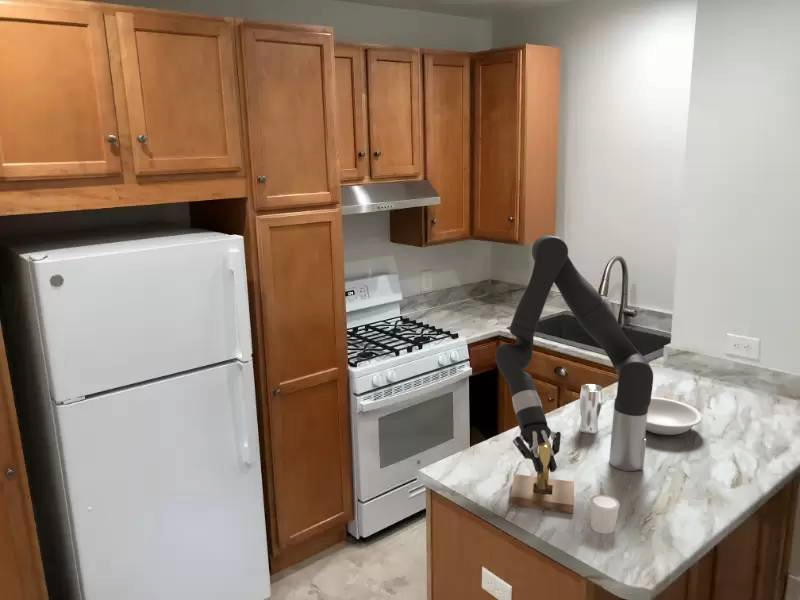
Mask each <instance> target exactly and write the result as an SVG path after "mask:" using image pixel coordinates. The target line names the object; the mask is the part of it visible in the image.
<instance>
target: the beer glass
mask: <svg viewBox="0 0 800 600" xmlns="http://www.w3.org/2000/svg"><path fill="white" fill-rule="evenodd" d="M580 389H581V390H580V396H579V408H580V409H579V410H580V424H579V428H578V430H579V431H580V432H581V433H583V434H586V435H595V433H596V434H597V433H598V432H599V424H598V423H599V422H598V421H599V417H600V413H601V409H602V406H603V387H602V386H600V385H598V384H593V383H586V384H582V385H581V388H580Z"/></svg>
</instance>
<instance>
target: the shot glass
mask: <svg viewBox="0 0 800 600" xmlns="http://www.w3.org/2000/svg"><path fill="white" fill-rule="evenodd" d="M589 500H590V501H589V503H590V504H589V507H590V509H589V510H590V512H589V513H590V527H591V528H592V530H594V531H596V532H597V533H600V534H603V535H604V534H605V535H608V534H612V533H614V531H615V529H616V524H617V519H618V514H619V509H620V502H619V500H617V498H615V497H613V496H610V495H606V494H594V495H592V496H591V497H590V499H589Z"/></svg>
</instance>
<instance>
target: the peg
mask: <svg viewBox="0 0 800 600" xmlns="http://www.w3.org/2000/svg"><path fill="white" fill-rule="evenodd" d="M550 444H551V443H550ZM550 444H548V443H540V444H539V446H538V455H539V456H538V458H540V460H541V464H542V467H543V473H541V474H538V472H536V477H537V484H536V487H537V488H538V489H541V490H546V489H547V488H548V479H550V469H549V465H550V452H551V448H552V444H551V445H550Z"/></svg>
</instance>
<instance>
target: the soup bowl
mask: <svg viewBox="0 0 800 600" xmlns="http://www.w3.org/2000/svg"><path fill="white" fill-rule="evenodd" d="M702 421H703V415H702V413H701V412H700V411H699V410H697V409H696V408H695V407H693V406H691V405H689V404H687V403H684V402H682V401H677V400H675V399H669V398H666V397H665V398H664V397H656V396H651V402H650V405H649V407H648V415H647V425H646V432H650V433H654V434H657V435H663V436H664V435H665V436H673V435H674V436H675V435H680V434H683V433H686V432H687V431H689V430H691V429H692V428H693V427H694V426H697V425H698V424H700V423H701V422H702Z"/></svg>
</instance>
